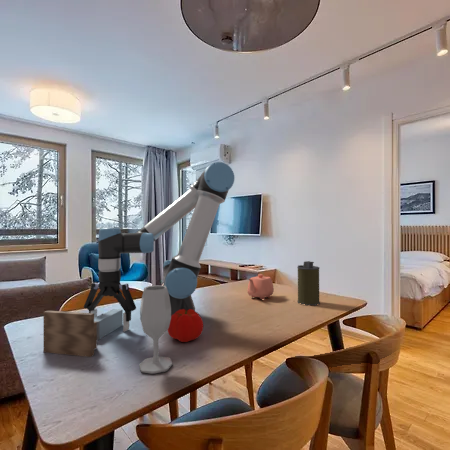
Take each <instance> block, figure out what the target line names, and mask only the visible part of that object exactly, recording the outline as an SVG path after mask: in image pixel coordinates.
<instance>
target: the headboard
mask: <svg viewBox="0 0 450 450" xmlns="http://www.w3.org/2000/svg"><path fill="white" fill-rule="evenodd" d="M42 314H43V353H46V354H47V353H49V354H56V355H57V354H58V355H67V356H68V355H69V356H78V357H87V358H90V357H93V356H94V355H95V350H96V349H97V347H98V346H97V345H98V343H97V342H98V340H97V322H94V313H89V312H79V311H78V312H76V311H75V312H74V311H59V310H46V311H43V313H42Z"/></svg>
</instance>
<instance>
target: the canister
mask: <svg viewBox="0 0 450 450" xmlns="http://www.w3.org/2000/svg"><path fill="white" fill-rule="evenodd" d="M314 263H315V262H314V261H311V260H309V261H307V260H305V261H303V265H302V264H300V265H299V264H298V265H297V303H298V304H299V303H301V304H300V305H302V304H305V305H304V306H308V305H314V306H318V305H317V304H319V305H320V304H321V303H320V267H319V266H317V265H316V266H315V265H314Z"/></svg>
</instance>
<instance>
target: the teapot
mask: <svg viewBox="0 0 450 450" xmlns="http://www.w3.org/2000/svg"><path fill="white" fill-rule="evenodd" d="M274 289H275V288H274V283H273V281H272V278H271V277H270V276H265V275H264V274H261V273H258V274H257V276H252V277H250V278H248V285H247V290H246V291H247V294H248V296H250V298H251V297H255V298H259V299H265V298H267V297H271V296H272V295H273V294H274V292H275V291H274ZM265 300H266V299H265Z"/></svg>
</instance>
